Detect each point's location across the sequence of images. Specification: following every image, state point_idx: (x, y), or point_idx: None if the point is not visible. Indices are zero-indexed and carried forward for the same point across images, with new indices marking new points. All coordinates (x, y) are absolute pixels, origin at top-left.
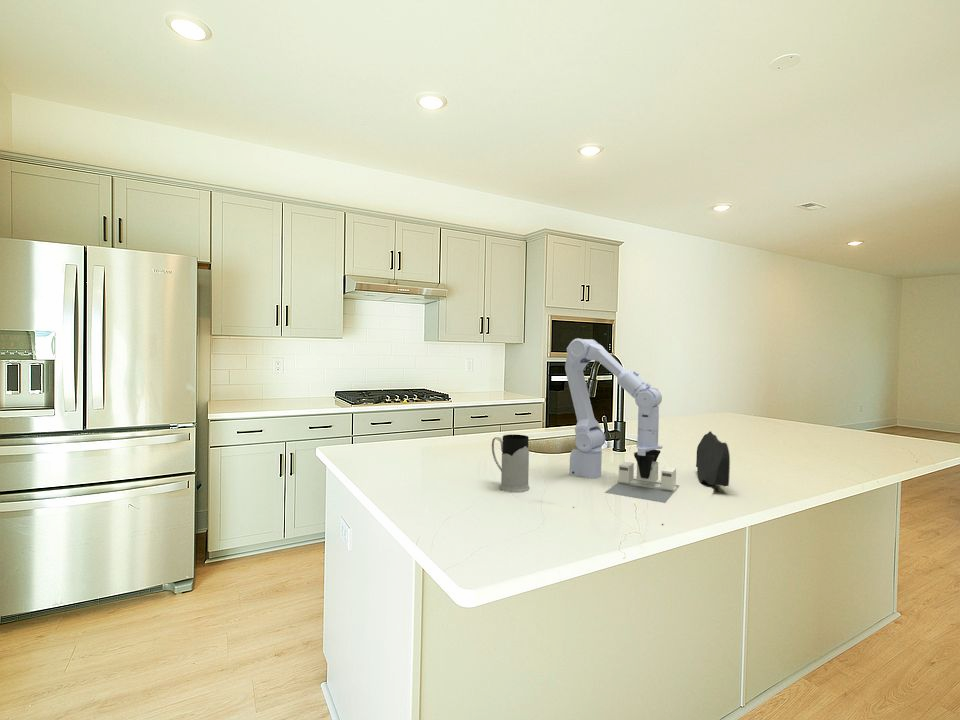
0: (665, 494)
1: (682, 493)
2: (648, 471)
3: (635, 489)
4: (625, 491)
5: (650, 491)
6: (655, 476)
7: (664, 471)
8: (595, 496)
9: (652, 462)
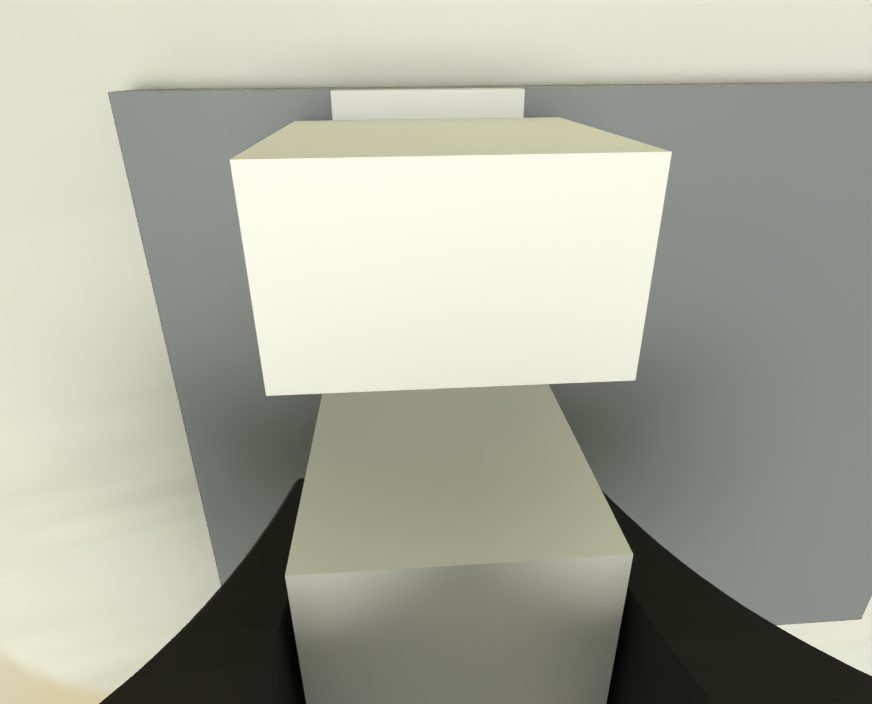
0: (713, 165)
1: (300, 11)
2: (636, 532)
3: (650, 475)
4: (762, 519)
5: (655, 342)
6: (498, 413)
7: (639, 319)
8: (844, 630)
9: (435, 634)
